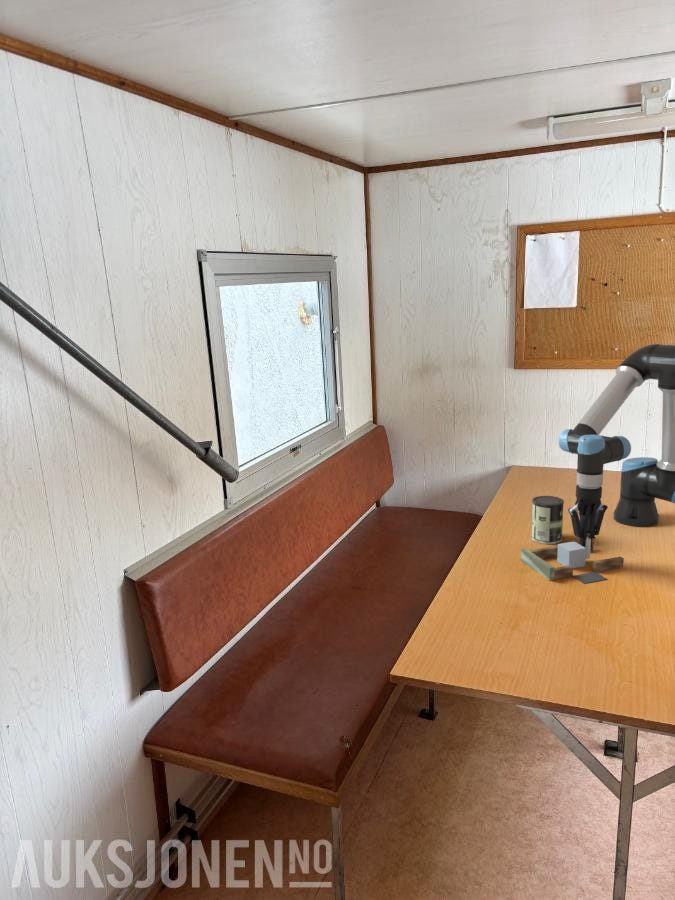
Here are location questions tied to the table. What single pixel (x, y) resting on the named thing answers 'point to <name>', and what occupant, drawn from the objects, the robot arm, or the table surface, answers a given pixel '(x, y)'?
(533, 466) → the table surface
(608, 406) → the robot arm
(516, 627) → the table surface
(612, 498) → the table surface
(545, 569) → the lane
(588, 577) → the mat
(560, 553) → the block
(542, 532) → the coffee can
